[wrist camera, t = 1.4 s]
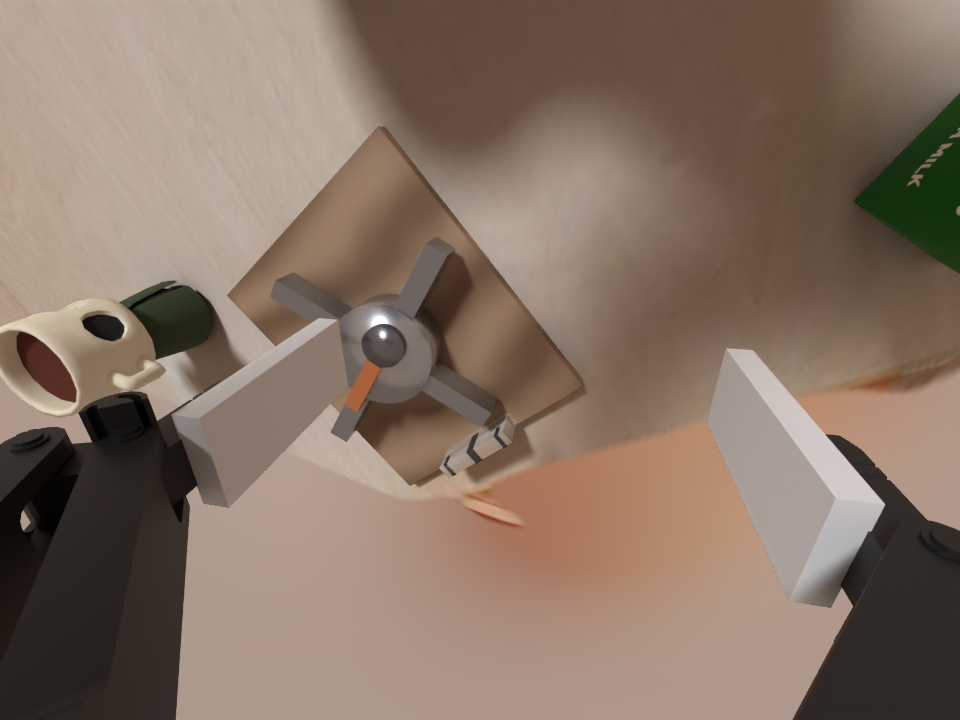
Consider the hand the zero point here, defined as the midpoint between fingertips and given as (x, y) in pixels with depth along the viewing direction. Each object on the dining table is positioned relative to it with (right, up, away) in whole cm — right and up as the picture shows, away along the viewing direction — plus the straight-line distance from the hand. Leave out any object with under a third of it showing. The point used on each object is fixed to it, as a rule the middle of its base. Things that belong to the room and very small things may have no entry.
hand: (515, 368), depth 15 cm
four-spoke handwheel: (-8, +2, +21) cm, 23 cm away
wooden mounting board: (-8, +2, +22) cm, 24 cm away
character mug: (-29, +5, +26) cm, 39 cm away
